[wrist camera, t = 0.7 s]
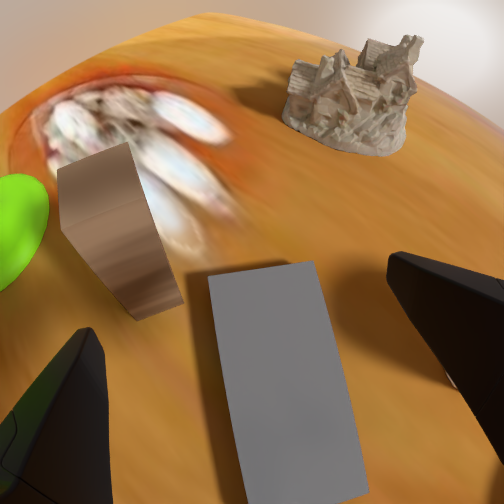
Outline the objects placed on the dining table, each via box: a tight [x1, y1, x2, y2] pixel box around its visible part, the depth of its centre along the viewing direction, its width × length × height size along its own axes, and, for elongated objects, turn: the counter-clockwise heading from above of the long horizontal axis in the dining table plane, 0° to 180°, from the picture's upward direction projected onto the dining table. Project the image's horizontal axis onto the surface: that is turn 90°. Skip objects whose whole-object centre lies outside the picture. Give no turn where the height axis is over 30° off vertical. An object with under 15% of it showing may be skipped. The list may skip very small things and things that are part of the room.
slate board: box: [208, 261, 369, 504], centre depth 21 cm, size 18×8×2 cm, turn 10°
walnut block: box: [57, 142, 184, 321], centre depth 19 cm, size 4×4×13 cm
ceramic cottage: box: [282, 35, 424, 156], centre depth 32 cm, size 16×16×15 cm
